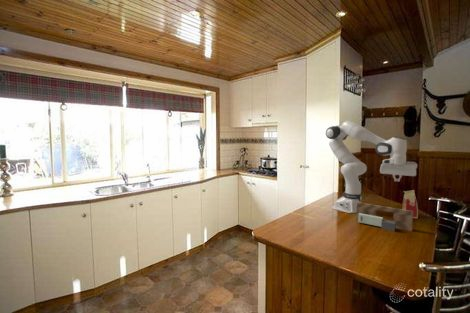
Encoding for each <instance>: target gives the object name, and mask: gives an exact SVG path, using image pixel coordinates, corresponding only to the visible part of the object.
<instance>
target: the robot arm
mask: <svg viewBox="0 0 470 313" xmlns="http://www.w3.org/2000/svg"><path fill="white" fill-rule="evenodd" d="M325 136H326V138H327V139H329V140H330V141H329V143H328V144H329V145H328V146H329V147H330V149H331V151H332V153H333V155H334V156H335V157H336V158H337V161H339V162H341V163H342V164H343V165H342V166H341V167H340V173H341V174H342V176H343V178H344V182H345V191H344V192H342V196H340V197H339V198H338V199H337V200H336V201H335V203H334V205H332V206H331V208H332V210H336V211H339V212H345V213H348V214H354V213H355V214H357V202H360V203H362V183H361V182H360V180H359V179H360V178H359V176H361V175H364V174H365V173H366V172H367V168H368V167H367V164H365V163H364V162H362V161H361V160H360V159H358V158H357V157H356V156H355V155H354V154H353V153H352V152H351V151H350V149H349V148H348V147H347V146H346V144H345V143H344V141H346V139H347V138H348V137H350V138H352V139H354V140H356V141H360V142H361V141H363V142H368V143H369V142H370V143H372V144H375V148H374V149H375V152H376V154H378V155H380V156H390V157H389V158H385V159H383V160H382V163H381V164H380V168H379V173H380V174H383V175H392V178H393V179H394V182H400V181H401V178H402V177H403V176H406V177H407V176H408V177H416V176H417V169H418V163H417V162H415V161H407V149H408V145H407V139H406V138H404V137H402V136H392V137H391V138H389V139H385V137H384V138H383V137H382V136H379V135H377V134H376V133H374V132H372V131H370V130H369V129H367V128H365V127H364V126H362V125H361V124H358V123H356V122H355V121H352V120H349V119H347V120H344V122H342V124H341V125H333V126H332V125H331V126H329V127H328V128H327V129H326V131H325ZM396 176H398V178H396Z"/></svg>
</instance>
